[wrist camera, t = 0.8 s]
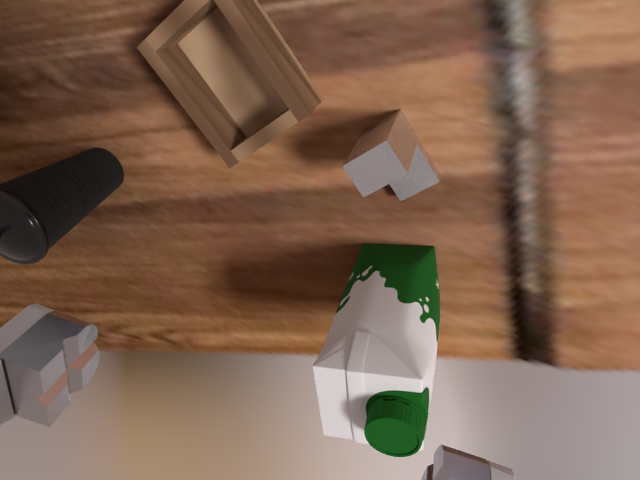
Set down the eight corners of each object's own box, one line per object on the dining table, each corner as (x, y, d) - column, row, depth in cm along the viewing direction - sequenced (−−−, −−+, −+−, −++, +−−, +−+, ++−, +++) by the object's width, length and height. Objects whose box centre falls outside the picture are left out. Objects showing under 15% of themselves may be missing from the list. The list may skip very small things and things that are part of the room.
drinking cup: (134, 146, 51) (-27, 243, 35) (136, 207, 55) (-7, 320, 39) (70, 126, 52) (-118, 211, 35) (76, 188, 56) (-89, 290, 40)
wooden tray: (237, -31, 39) (212, -28, 36) (323, 99, 43) (309, 114, 39) (165, 38, 44) (136, 47, 40) (248, 150, 48) (229, 168, 44)
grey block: (400, 109, 42) (386, 140, 35) (440, 174, 44) (434, 215, 37) (362, 132, 44) (342, 166, 37) (402, 194, 46) (390, 236, 39)
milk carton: (442, 309, 51) (427, 483, 35) (358, 303, 54) (307, 462, 37) (444, 238, 47) (427, 398, 30) (352, 234, 49) (292, 380, 33)
